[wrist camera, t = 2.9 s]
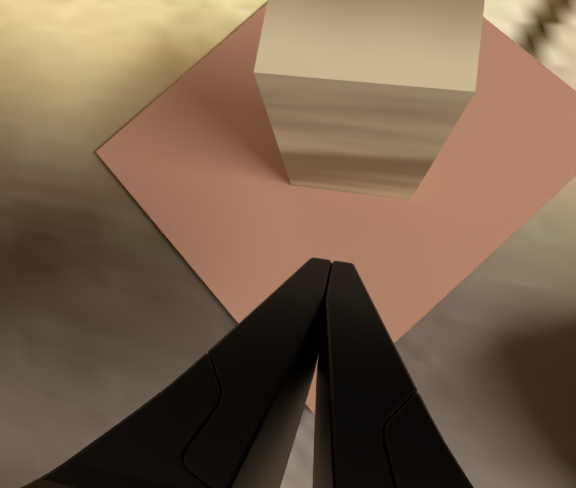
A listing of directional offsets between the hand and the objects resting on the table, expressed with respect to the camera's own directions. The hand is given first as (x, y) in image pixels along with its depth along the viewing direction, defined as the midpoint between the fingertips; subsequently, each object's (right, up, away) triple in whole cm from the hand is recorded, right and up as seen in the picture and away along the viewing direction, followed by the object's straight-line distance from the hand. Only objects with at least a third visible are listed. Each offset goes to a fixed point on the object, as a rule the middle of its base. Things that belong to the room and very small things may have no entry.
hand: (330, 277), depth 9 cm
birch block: (+3, +5, +13) cm, 14 cm away
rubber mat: (+2, +6, +14) cm, 15 cm away
